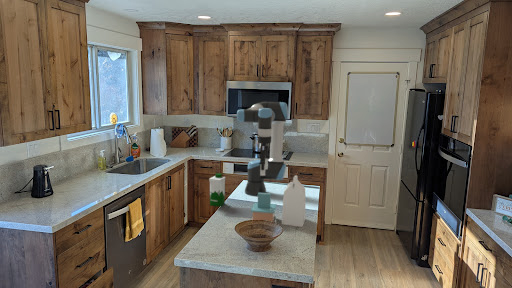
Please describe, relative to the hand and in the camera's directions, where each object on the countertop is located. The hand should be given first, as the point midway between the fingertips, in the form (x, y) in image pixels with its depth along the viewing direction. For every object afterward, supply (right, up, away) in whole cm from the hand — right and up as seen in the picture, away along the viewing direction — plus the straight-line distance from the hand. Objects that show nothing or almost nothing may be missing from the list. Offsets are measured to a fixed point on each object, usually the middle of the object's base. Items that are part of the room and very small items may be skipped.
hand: (264, 172), depth 202 cm
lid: (0, -20, -4) cm, 21 cm away
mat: (-14, -25, +7) cm, 30 cm away
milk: (+17, -28, -4) cm, 33 cm away
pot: (0, -27, -3) cm, 27 cm away
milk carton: (-29, -23, +20) cm, 42 cm away
